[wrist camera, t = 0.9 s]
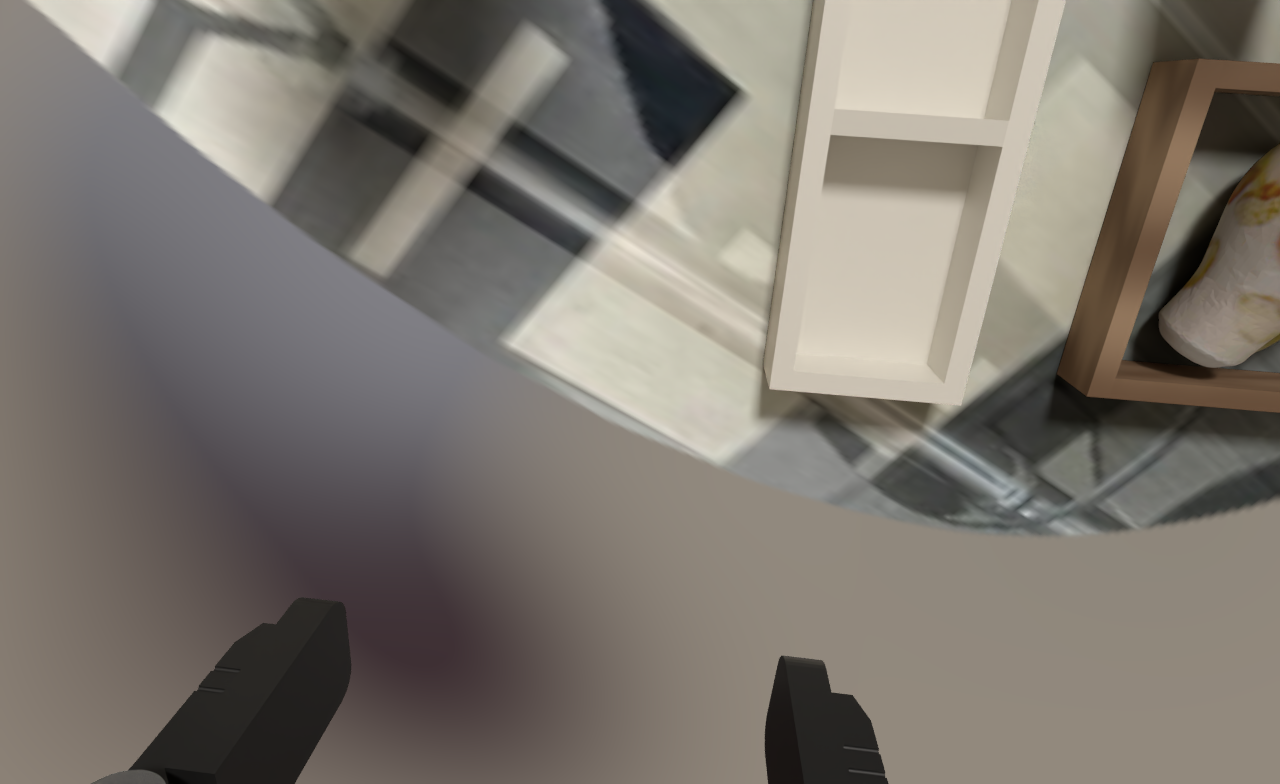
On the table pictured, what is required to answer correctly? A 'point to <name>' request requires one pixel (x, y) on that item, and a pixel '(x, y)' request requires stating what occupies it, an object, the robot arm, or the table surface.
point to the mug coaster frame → (1157, 246)
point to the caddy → (902, 191)
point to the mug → (1234, 278)
